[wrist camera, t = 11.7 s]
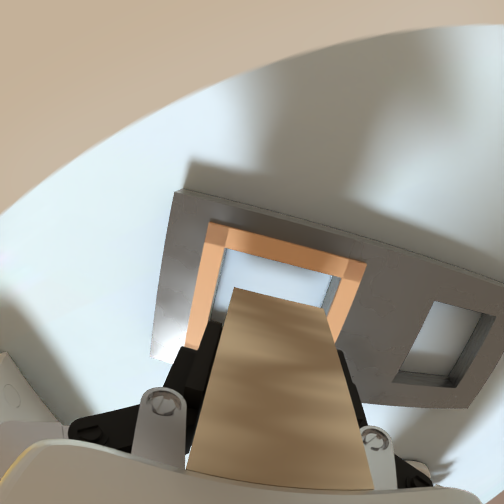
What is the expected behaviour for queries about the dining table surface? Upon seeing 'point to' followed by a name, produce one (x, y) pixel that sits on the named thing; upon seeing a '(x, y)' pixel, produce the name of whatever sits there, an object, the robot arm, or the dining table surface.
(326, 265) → the grey flat holed plate
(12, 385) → the grey slotted arched block
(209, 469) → the plug
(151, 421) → the robot arm
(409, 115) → the dining table surface
